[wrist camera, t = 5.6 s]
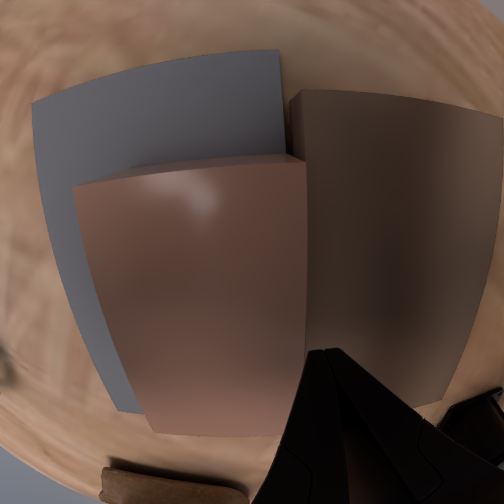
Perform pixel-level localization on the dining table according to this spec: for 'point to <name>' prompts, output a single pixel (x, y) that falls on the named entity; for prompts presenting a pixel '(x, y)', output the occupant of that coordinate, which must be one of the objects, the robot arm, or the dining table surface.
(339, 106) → the ledge
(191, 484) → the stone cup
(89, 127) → the mat
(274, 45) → the dining table surface
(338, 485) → the robot arm
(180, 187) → the salmon pink block
